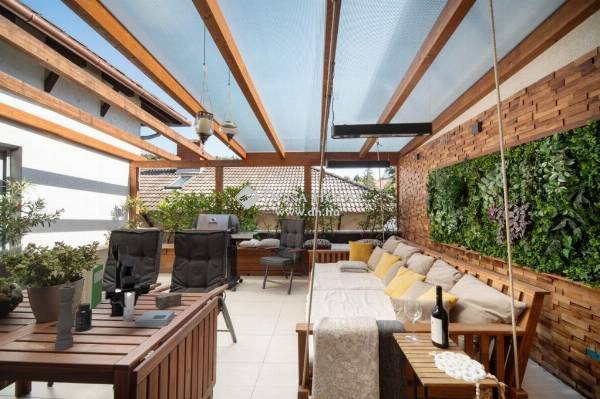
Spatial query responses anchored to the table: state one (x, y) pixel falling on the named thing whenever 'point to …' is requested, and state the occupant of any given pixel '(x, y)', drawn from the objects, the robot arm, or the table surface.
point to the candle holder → (65, 319)
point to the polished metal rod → (129, 306)
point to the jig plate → (154, 318)
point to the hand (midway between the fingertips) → (129, 306)
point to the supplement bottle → (83, 317)
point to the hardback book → (92, 286)
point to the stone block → (168, 300)
